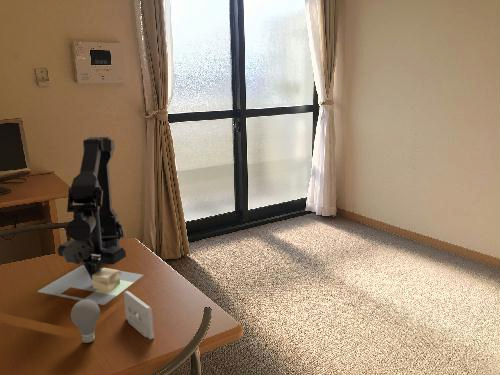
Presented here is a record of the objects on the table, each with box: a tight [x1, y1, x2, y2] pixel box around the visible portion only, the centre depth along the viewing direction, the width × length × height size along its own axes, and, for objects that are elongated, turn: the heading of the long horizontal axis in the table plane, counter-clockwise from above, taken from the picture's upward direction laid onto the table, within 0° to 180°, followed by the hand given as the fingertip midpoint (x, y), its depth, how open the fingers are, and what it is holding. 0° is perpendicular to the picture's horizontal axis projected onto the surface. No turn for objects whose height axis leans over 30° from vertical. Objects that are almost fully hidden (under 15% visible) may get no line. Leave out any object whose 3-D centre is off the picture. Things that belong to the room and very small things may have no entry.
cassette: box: [123, 289, 155, 340], centre depth 98 cm, size 12×2×8 cm, turn 43°
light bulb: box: [70, 298, 101, 344], centre depth 93 cm, size 6×6×10 cm
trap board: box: [36, 264, 144, 306], centre depth 119 cm, size 18×22×2 cm
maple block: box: [92, 267, 120, 291], centre depth 116 cm, size 5×5×4 cm
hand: (94, 279), depth 118 cm, fingers closed
